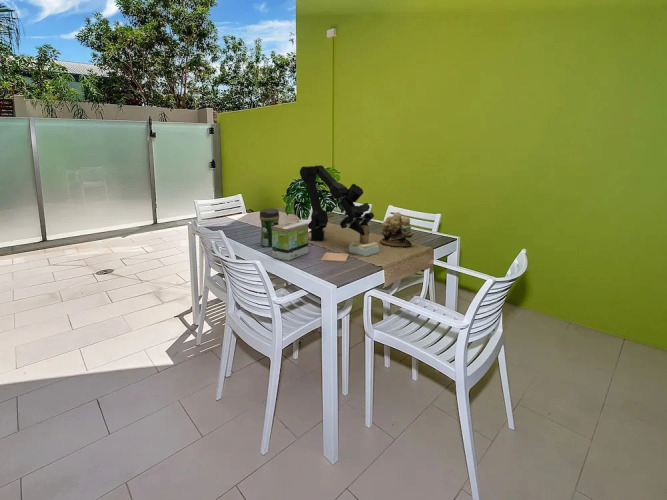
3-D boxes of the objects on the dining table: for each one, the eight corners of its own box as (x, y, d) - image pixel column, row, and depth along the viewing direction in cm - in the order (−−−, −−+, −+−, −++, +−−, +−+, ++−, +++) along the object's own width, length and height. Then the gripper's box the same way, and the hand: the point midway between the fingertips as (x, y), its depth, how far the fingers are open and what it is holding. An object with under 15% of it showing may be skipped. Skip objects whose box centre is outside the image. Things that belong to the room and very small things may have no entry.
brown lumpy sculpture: (416, 244, 194) (419, 211, 189) (409, 250, 184) (411, 216, 179) (384, 239, 203) (385, 208, 198) (375, 244, 193) (376, 212, 188)
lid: (350, 246, 179) (350, 225, 176) (363, 243, 185) (363, 223, 182) (364, 250, 173) (365, 229, 170) (377, 247, 179) (378, 226, 176)
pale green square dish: (349, 252, 180) (349, 245, 179) (363, 248, 186) (363, 241, 185) (364, 256, 173) (364, 249, 172) (378, 252, 179) (378, 245, 178)
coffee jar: (272, 241, 198) (271, 206, 193) (283, 244, 193) (281, 208, 188) (258, 245, 191) (256, 209, 185) (268, 248, 186) (267, 211, 181)
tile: (321, 260, 167) (321, 259, 167) (325, 253, 178) (325, 252, 178) (345, 262, 166) (345, 261, 165) (348, 254, 176) (348, 253, 176)
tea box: (289, 261, 167) (288, 228, 162) (272, 257, 172) (270, 226, 167) (309, 253, 179) (308, 222, 175) (292, 249, 184) (291, 220, 180)
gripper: (344, 199, 169) (362, 227, 164) (372, 195, 181) (389, 221, 177) (332, 214, 176) (349, 241, 172) (359, 209, 189) (375, 234, 184)
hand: (366, 234), depth 176 cm, fingers closed on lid, 3 cm apart
